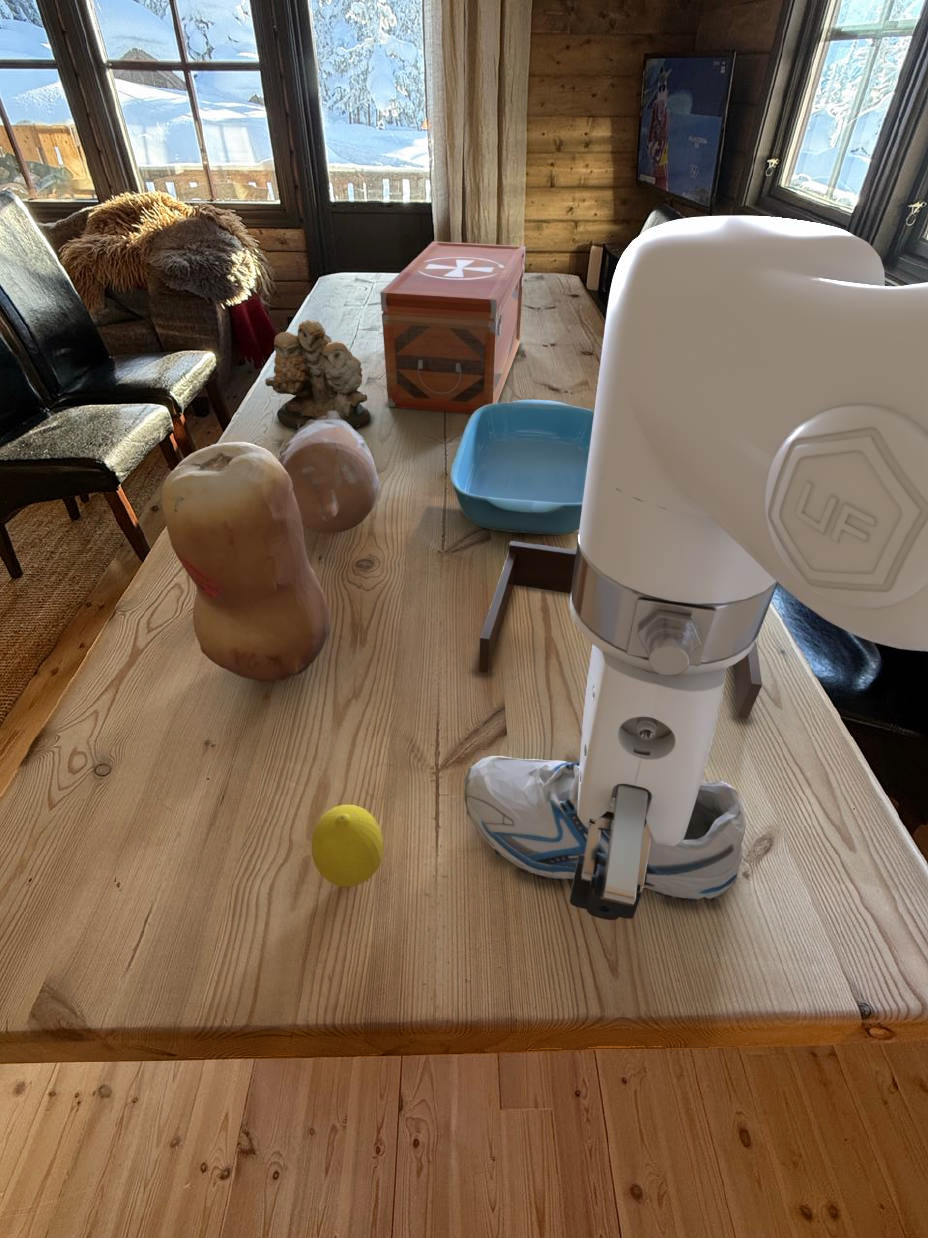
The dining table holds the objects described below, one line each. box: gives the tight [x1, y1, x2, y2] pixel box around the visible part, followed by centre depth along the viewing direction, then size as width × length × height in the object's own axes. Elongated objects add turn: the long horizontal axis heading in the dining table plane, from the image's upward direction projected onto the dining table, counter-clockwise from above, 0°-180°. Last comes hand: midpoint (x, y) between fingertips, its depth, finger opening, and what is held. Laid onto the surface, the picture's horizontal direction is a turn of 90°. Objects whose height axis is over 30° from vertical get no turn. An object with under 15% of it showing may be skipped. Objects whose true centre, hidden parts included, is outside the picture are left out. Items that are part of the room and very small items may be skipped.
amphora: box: [277, 411, 380, 534], centre depth 93 cm, size 14×16×30 cm
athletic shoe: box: [463, 755, 747, 902], centre depth 53 cm, size 10×23×12 cm, turn 82°
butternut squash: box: [161, 441, 331, 683], centre depth 64 cm, size 14×13×25 cm
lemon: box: [311, 804, 384, 888], centre depth 52 cm, size 6×6×8 cm
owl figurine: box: [264, 318, 371, 431], centre depth 115 cm, size 18×12×17 cm, turn 87°
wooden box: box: [379, 241, 526, 415], centre depth 132 cm, size 20×41×20 cm, turn 169°
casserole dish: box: [450, 399, 594, 536], centre depth 100 cm, size 37×22×7 cm, turn 171°
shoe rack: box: [478, 540, 763, 720], centre depth 74 cm, size 17×28×6 cm, turn 76°
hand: (608, 825), depth 37 cm, fingers open, 9 cm apart
